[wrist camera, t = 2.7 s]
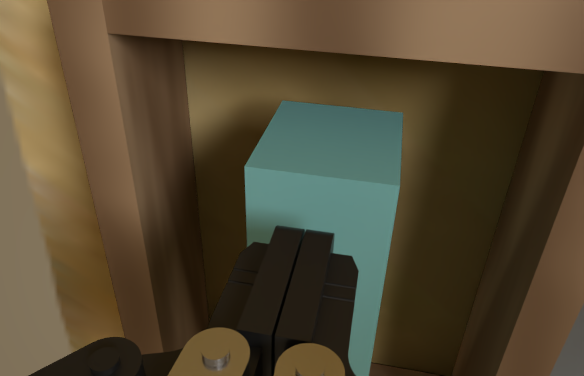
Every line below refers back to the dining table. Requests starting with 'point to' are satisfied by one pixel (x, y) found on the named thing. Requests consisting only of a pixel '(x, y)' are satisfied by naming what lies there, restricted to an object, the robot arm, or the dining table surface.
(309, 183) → the teal rectangular block
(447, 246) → the dining table surface
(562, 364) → the slate mat
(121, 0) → the pocket
